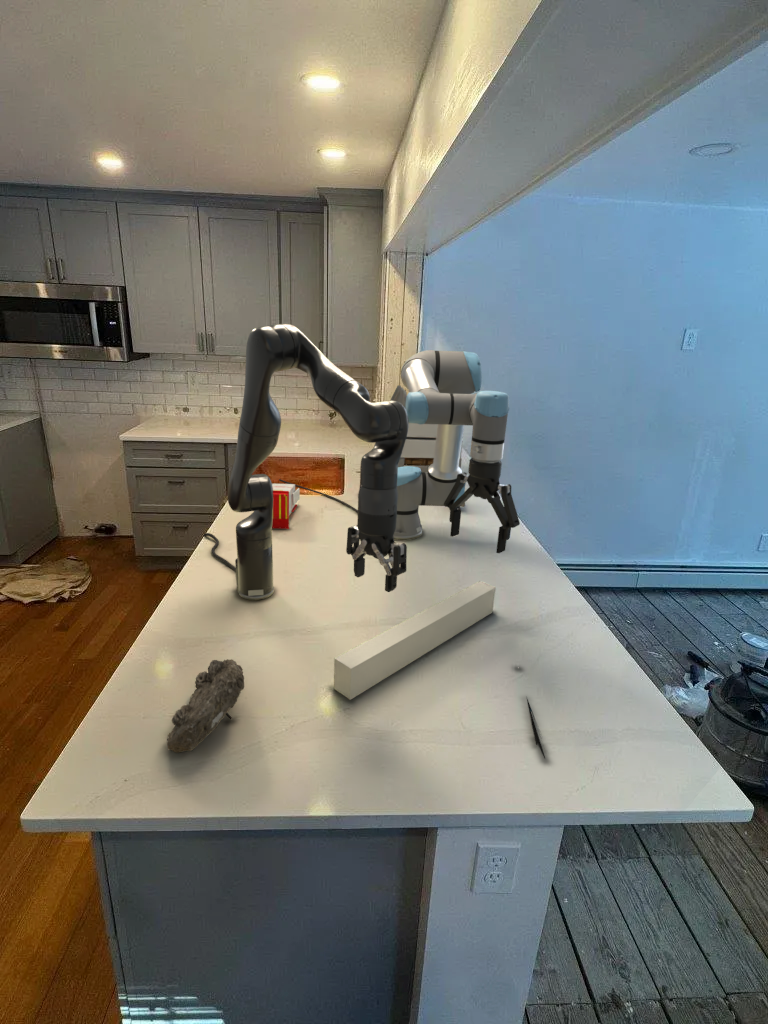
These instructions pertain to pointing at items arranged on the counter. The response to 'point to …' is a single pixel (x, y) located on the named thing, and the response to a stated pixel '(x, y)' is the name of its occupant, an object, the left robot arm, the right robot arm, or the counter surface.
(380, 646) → the beam
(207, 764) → the counter surface
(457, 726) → the counter surface
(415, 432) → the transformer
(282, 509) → the toy
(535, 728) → the feather
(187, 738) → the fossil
